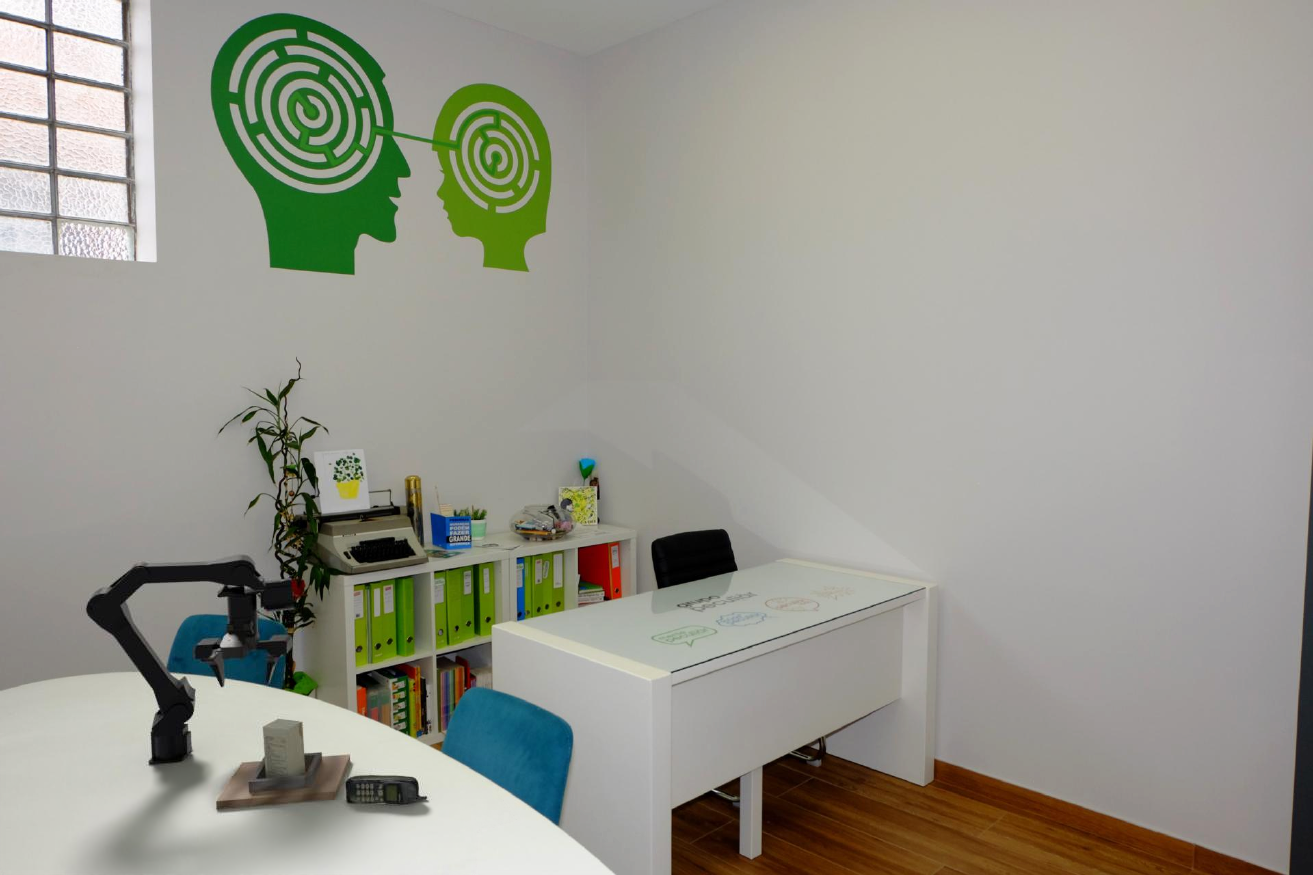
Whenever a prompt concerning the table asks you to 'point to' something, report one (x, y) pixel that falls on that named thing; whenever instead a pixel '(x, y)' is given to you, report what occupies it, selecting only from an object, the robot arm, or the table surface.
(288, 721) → the skincare box
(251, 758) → the table surface
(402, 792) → the mobile phone
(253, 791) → the serum stand
